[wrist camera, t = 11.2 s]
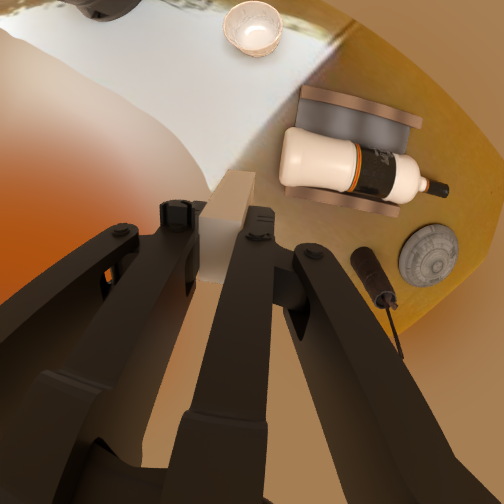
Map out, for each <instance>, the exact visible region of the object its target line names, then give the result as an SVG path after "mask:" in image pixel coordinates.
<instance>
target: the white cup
mask: <svg viewBox="0 0 504 504" xmlns="http://www.w3.org/2000/svg"><path fill="white" fill-rule="evenodd" d="M282 27H283V23H282V19H281V16H280V14H279V13H278V11H277V10H276V9H275V8H273V7H272V6H270V5H269V4H266V3H264V2H259V1H248V2H243V3H240V4H238V5H236V6H235V7H233V8H232V9H231V10H230V11H229V12H228V13H227V15H226V16H225V19H224V22H223V31H224V34H225V36H226V38H227V39H228V40H229V41H230V42H231V43H232V44H233V45H234V46H235V47H237V48H238V49H239V50H241V51H242V52H244V53H245V54H248V55H251V56H253V57H263V56H265V55H268V54H270V53H272V52H273V50H274V49H275V48H276V47H277V44H278V43H279V40H280V37H281V32H282Z"/></svg>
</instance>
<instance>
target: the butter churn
mask: <svg viewBox="0 0 504 504" xmlns="http://www.w3.org/2000/svg"><path fill="white" fill-rule="evenodd" d="M350 260H351V265H352V267H353V268H354V270H355V272H356V273H357V275H358V277H359V278H360V280H361V281H362V283H363V285H364V287H365V289H366V291H367V292H368V294H369V295H370V297H371V299H372V301H373V303H374V304H375V306H376V307H378V308H379V309H386V312H387V315H388V318H389V321H390V325H391V328H392V331H393V335H394V338H395V342H396V345H397V349H398V353H399V355H400V357H401V359H402V360H403V359H404V357H403V353H402V349H401V347H400V342H399V339H398V336H397V332H396V330H395V327H394V324H393V321H392V318H391V314H390V311H389V308H390V307H392V309H393V310H396V309H397V307H398V305H397V304H396V301H397V300H396V295H395V292H394V289H393V287H392V285H391V284H390V282H389V280H388V278H387V276H386V274H385V272H384V271H383V269H382V267H381V265H380V263H379V261H378V260H377V258H376V256H375V254H374V253H373V251H372V250H371V249H369V248H368V247H360V248H358V249H356V250H355V251H354V252H353V254H352V256H351V258H350Z"/></svg>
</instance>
